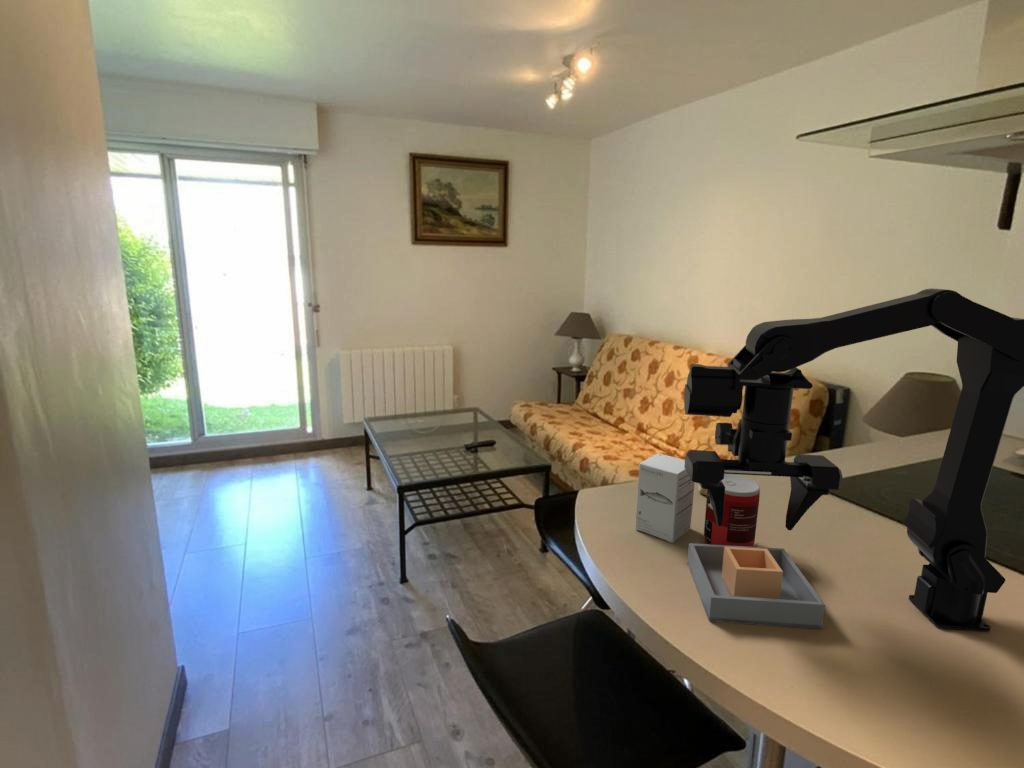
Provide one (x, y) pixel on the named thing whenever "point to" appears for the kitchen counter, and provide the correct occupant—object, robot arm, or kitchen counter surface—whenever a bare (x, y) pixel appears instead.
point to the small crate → (751, 573)
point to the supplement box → (664, 497)
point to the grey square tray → (789, 611)
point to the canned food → (734, 513)
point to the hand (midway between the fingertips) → (753, 527)
